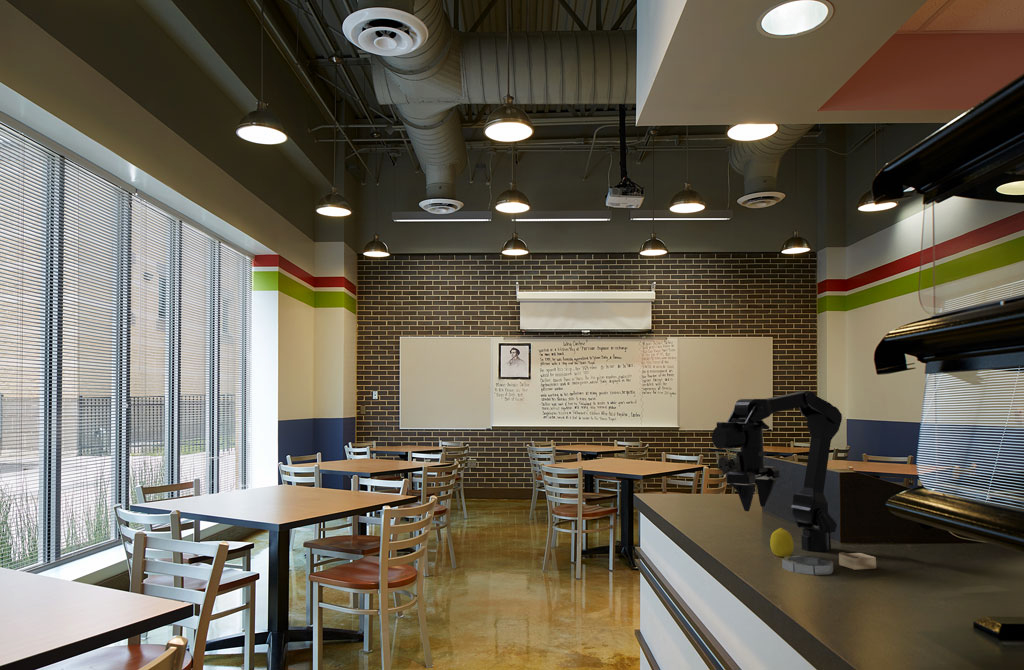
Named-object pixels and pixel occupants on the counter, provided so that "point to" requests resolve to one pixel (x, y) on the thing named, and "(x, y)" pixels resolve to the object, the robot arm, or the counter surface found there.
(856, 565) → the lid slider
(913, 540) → the counter surface
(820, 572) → the ring
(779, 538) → the lemon
